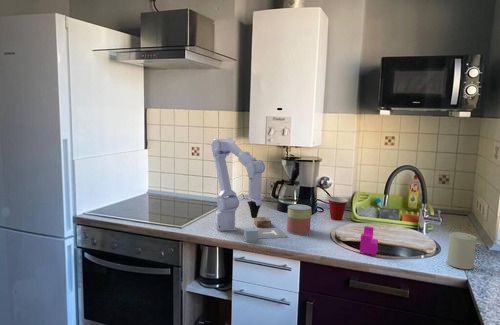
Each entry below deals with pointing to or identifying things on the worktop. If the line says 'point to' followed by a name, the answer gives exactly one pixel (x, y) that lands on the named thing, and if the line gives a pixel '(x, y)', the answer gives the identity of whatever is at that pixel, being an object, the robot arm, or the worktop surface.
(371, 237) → the toy block
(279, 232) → the light gray board
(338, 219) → the plastic cup
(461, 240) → the can
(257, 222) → the walnut slab
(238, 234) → the worktop surface
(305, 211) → the canned food
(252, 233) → the grey cube
